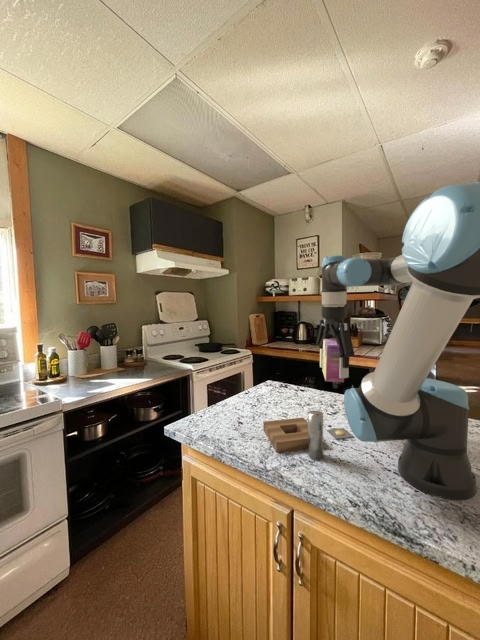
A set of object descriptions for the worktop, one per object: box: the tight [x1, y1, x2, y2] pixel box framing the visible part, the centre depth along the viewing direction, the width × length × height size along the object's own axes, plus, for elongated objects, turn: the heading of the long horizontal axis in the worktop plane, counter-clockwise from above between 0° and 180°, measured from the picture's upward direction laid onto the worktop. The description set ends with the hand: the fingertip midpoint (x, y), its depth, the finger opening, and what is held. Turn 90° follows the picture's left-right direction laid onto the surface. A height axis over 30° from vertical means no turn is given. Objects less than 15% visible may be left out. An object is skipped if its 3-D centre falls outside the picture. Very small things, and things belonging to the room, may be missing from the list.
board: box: [262, 417, 308, 453], centre depth 87 cm, size 14×14×3 cm
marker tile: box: [326, 427, 355, 441], centre depth 89 cm, size 6×6×1 cm
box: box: [321, 337, 345, 383], centre depth 91 cm, size 10×6×12 cm, turn 169°
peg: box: [307, 410, 324, 461], centre depth 77 cm, size 4×4×12 cm
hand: (333, 372), depth 92 cm, fingers closed on box, 12 cm apart
